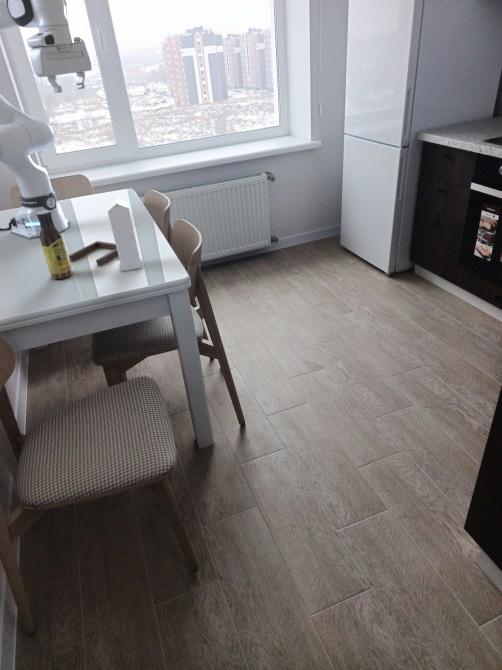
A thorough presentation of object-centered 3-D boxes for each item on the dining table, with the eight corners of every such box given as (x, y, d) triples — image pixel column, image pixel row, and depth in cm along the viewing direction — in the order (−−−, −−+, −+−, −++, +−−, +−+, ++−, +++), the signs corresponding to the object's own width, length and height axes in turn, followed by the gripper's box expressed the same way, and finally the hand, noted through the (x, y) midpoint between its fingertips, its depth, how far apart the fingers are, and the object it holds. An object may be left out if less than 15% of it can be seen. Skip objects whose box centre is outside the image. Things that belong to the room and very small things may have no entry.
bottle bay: (70, 260, 156) (68, 255, 155) (98, 246, 166) (97, 240, 165) (100, 266, 150) (98, 260, 149) (127, 250, 160) (126, 245, 159)
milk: (122, 271, 145) (104, 200, 134) (121, 264, 150) (103, 195, 139) (142, 267, 147) (126, 196, 135) (140, 260, 152) (124, 191, 140)
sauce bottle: (66, 280, 143) (45, 216, 132) (47, 280, 144) (26, 216, 134) (76, 271, 148) (58, 208, 138) (59, 270, 150) (39, 209, 139)
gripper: (75, 37, 148) (87, 87, 156) (21, 40, 133) (37, 95, 141) (90, 35, 145) (101, 86, 153) (37, 39, 131) (52, 94, 138)
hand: (70, 90), depth 147 cm, fingers open, 8 cm apart
